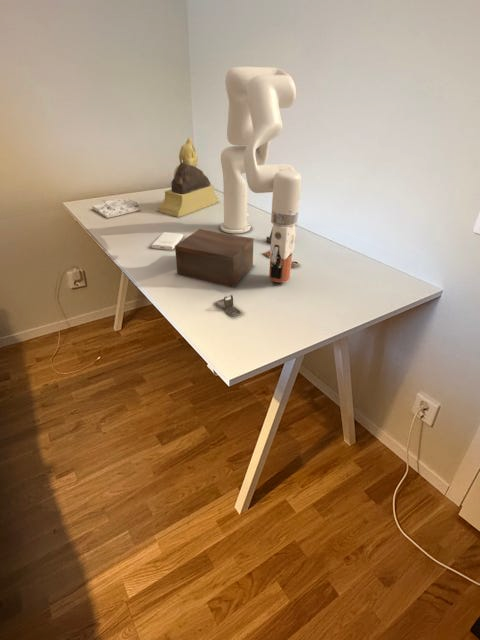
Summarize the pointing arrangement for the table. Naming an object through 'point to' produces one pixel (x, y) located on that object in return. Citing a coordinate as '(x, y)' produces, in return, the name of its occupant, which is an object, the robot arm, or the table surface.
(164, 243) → the hard drive
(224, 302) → the strap clip
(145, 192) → the table surface
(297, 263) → the key
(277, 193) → the robot arm
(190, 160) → the gold-headed buddha statuette
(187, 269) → the dark wooden box
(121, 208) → the floor plan model
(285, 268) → the cup
